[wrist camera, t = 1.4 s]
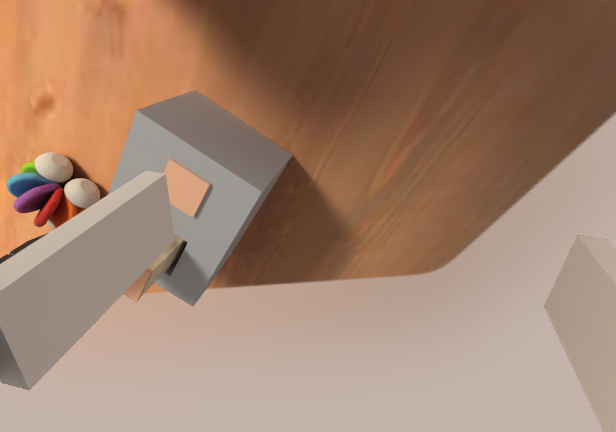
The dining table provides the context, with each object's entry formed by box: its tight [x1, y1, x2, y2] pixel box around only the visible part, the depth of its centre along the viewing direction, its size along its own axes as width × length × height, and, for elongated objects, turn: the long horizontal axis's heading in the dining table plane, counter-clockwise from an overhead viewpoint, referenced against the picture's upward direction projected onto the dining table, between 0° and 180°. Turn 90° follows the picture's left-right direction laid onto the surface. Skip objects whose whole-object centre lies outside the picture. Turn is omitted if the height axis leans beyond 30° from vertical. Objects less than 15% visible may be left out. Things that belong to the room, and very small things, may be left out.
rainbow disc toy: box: [7, 152, 100, 229], centre depth 46 cm, size 8×10×7 cm
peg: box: [123, 234, 188, 302], centre depth 37 cm, size 4×4×9 cm
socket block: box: [108, 90, 293, 306], centre depth 39 cm, size 12×16×10 cm
